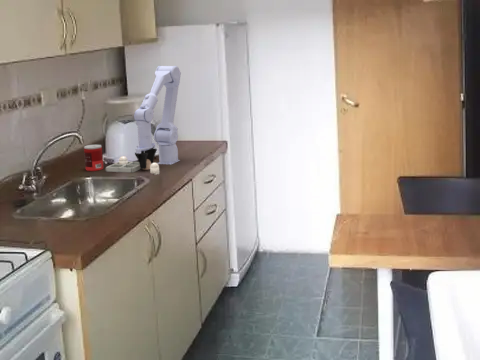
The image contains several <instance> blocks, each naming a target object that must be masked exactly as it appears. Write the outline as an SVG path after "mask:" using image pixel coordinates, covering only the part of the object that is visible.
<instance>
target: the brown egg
mask: <svg viewBox="0 0 480 360" xmlns="http://www.w3.org/2000/svg"><path fill="white" fill-rule="evenodd" d="M150 165H151V161H150V160H149V159H147V161H146V168H145V169H144V168H142V170H148V171H149V170H150Z"/></svg>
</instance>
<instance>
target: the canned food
mask: <svg viewBox="0 0 480 360" xmlns="http://www.w3.org/2000/svg"><path fill="white" fill-rule="evenodd" d="M102 147H103V146H102V144H87V145H85V146H83V154H84V155H83V156H84V166H85V170H86V171H87V172H96V171H98V172H99V171H102V170H104V158H103V148H102Z"/></svg>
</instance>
